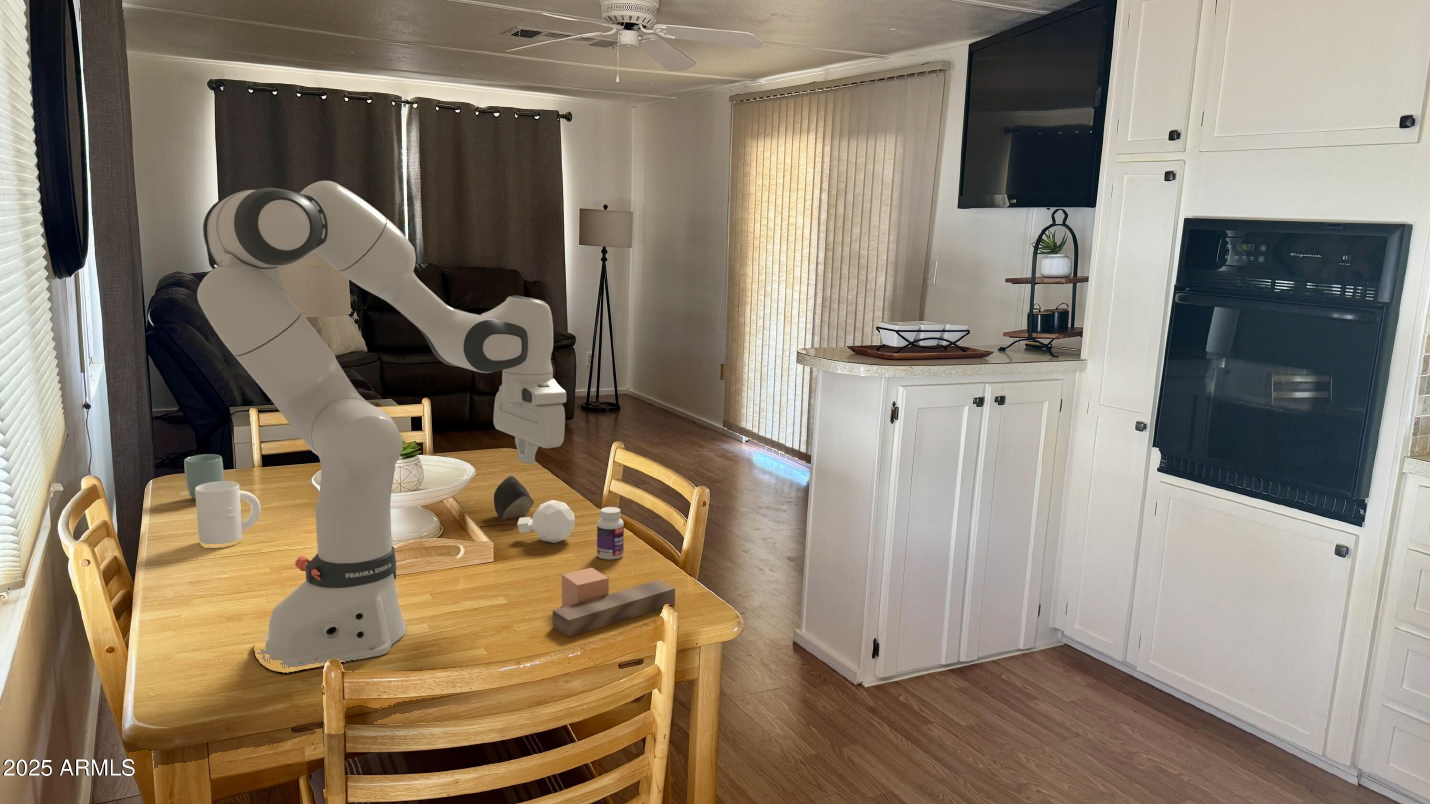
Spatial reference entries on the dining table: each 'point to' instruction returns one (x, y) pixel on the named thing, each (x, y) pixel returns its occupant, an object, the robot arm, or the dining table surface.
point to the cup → (202, 471)
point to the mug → (223, 512)
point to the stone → (511, 499)
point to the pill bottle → (610, 534)
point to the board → (612, 608)
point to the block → (583, 586)
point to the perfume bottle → (549, 521)
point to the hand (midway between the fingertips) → (526, 462)
